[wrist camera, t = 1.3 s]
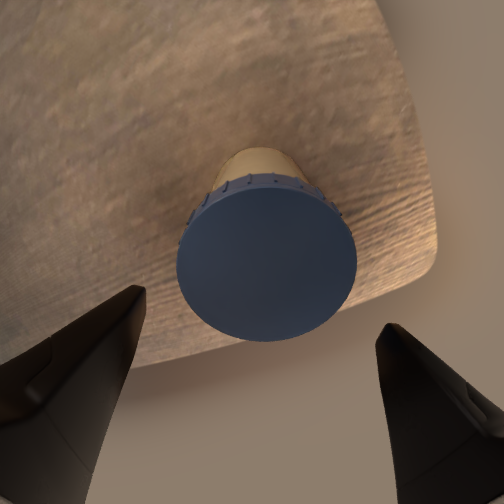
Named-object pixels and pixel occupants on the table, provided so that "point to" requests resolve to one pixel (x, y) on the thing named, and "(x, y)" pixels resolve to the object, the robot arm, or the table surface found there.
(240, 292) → the lid
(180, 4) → the table surface
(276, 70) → the table surface
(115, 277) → the table surface
